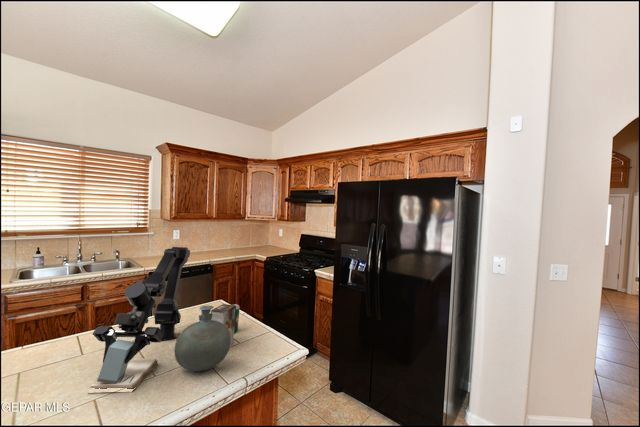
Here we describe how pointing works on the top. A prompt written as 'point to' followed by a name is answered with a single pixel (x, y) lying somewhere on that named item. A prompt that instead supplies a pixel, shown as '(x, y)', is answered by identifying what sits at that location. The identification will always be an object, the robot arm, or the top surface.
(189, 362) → the flask
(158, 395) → the top surface
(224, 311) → the coffee box
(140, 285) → the robot arm
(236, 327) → the soda can
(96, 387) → the board
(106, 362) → the block
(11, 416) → the top surface
